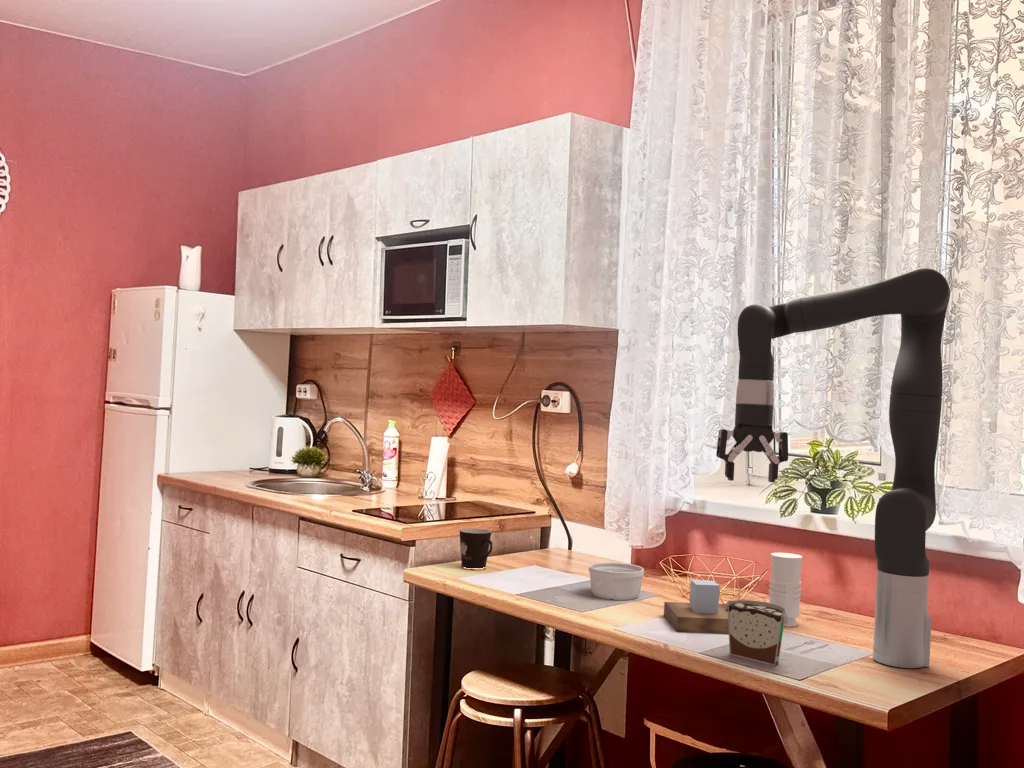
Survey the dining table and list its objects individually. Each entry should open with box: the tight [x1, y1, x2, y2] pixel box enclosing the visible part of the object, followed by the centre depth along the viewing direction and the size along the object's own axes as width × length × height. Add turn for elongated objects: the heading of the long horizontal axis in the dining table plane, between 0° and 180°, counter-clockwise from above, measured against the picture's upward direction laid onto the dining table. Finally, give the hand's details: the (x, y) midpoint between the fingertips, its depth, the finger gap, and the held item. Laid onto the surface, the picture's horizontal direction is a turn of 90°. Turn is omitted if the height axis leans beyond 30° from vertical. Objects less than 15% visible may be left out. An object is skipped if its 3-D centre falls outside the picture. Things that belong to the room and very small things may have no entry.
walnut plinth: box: [663, 601, 729, 634], centre depth 204 cm, size 14×14×3 cm
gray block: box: [689, 579, 720, 614], centre depth 204 cm, size 5×5×6 cm
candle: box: [768, 551, 803, 628], centre depth 209 cm, size 7×7×15 cm
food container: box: [725, 599, 788, 667], centre depth 180 cm, size 12×6×10 cm, turn 48°
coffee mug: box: [459, 527, 493, 568], centre depth 254 cm, size 12×9×10 cm
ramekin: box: [588, 561, 645, 601], centre depth 229 cm, size 13×13×7 cm
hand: (750, 481), depth 194 cm, fingers open, 8 cm apart
